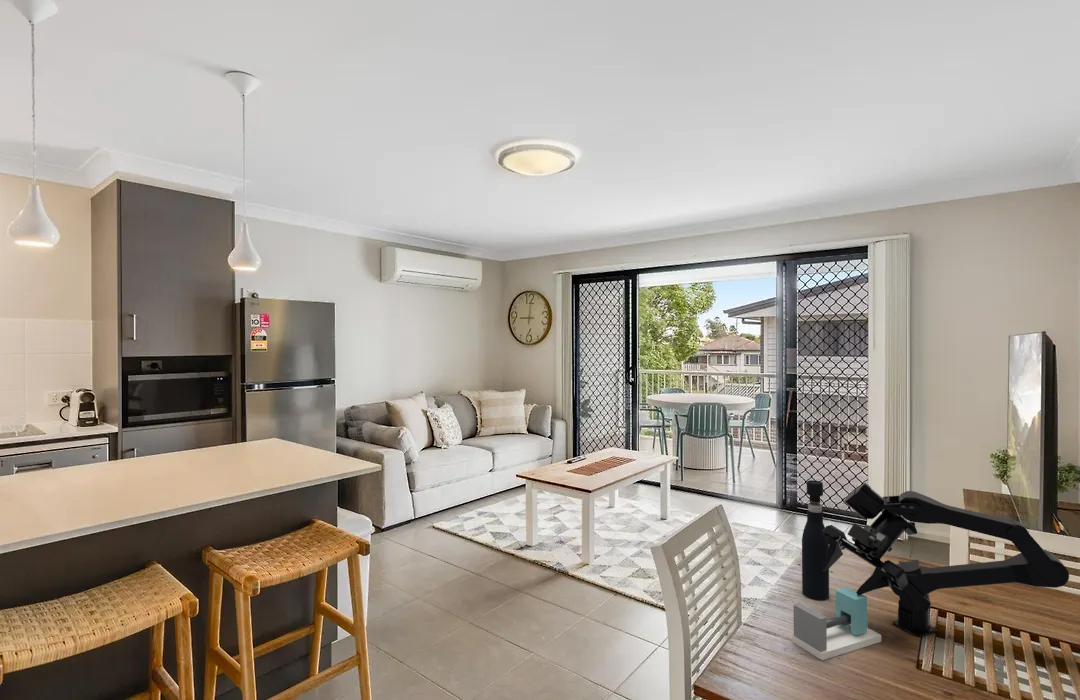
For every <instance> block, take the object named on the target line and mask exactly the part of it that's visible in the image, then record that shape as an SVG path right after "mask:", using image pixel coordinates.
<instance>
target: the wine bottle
mask: <svg viewBox="0 0 1080 700" xmlns="http://www.w3.org/2000/svg"><path fill="white" fill-rule="evenodd" d="M806 494H807V495H808V496H809V500H808V501H809V502H808V504H807V506H808V507H807V510H806V518H807V519H806V522H805V525H804V528H803V530H802V536H801V537H802V538H801V586H802V587H801V589H802V590H801V591H802V592H801V593H802V595H803V596H804V597H805V598H808V599H811V600H815V601H827V600H829V599H830V568H829V569H828V570H826V571H823V565H824V563H825V560H826V557H827V554H828V549H829V543H828V542H827V540H826V538H825V536H824V534H823V532H822V530H823V529H824V528H825V527H826V526H825V524H824V512H823V509H822V508H823V507H822V504H821V497H823V496H824V483H823V482H822V481H820V480H807V481H806Z"/></svg>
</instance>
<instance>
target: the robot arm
mask: <svg viewBox="0 0 1080 700" xmlns="http://www.w3.org/2000/svg"><path fill="white" fill-rule="evenodd" d="M843 502H844V503H845V504H846V505H847V506H849V508H851V509H852V510H853V511H854V512H855V513H856V514H857V515H859V516H860V517H861V518H863V520H865V519H868V520H873V519H874V521H873V522H872V523H871V524H870V525H869V524H867V525H865V526H864V527H862V526H860V525H859V524H857V523H856V522H854V523H853V524H852V526H851V527H850V529H849V530H848V532H847V535H848V536H849V537H851V540H852V541H853V542H854V543H853V542H851V541H850V540H849V539H847V536H846V534H845V532H844V531H843V530H841V529H839V528H838V527H836V526H834V525H832V524H830V525H829V524H828V525H826V526H825V528H824V529H823V530H822V532H823V534H824V536H825V538H826V540H827V542H828V543H829V549H828V554H827V557H826V560H825V563H824V565H823V571H826V570H828V569H829V570H830V568H832V567H833V566H834V564H835V563H836V562H837V561H838V560H839V559H841V558H842V556H843V555H844V554H843V550H845V549H846V550H848V551H849V552H851V553H852V554H854V555H856V556H857V557H859V558H860V559H862V560H864V561H865V562H867V563H868V564H870V565H871V566H872V567H874V568H875V569H874V571H873V573H872V574H871V575H870V577H868V578H867V579H866V580H865V582H863V584H861V585H860V586H859V587H858V589H857V591H855V592H856V593H857V595H861V594H862V595H864V594H866V593H870V592H872V591H875V590H878V589H879V590H880V589H884V588H888V587H889V588H890V589H891V591H892V592H893V593H894V594H895V596H896V595H897V596H898V597H899V600H898V607H897V619H895V620H892V621H891V623H892V625H894V626H897V627H899V628H900V629H902V630H905V632H909V633H910V634H912V635H914V636H917V637H923V636H926V635H930V634H932V633H935V632H938V629H937V627H934V626H932V625H931V604H932V602H931V598H930V593H933V592H935V591H937V590H941V589H942V590H943V589H952V588H953V589H954V588H955V589H956V588H967V587H977V586H989V585H1001V584H1012V583H1013V584H1014V583H1015V584H1022V585H1026V586H1030V587H1037V588H1038V587H1039V588H1051V589H1052V588H1053V589H1054V588H1055V589H1057V588H1061V587H1064V586H1065V585H1066V584H1067V583H1068V582H1069V580H1070V574H1069V570H1068V569H1067V567H1066V566H1065V564H1063V562H1062V561H1061V560H1060V558H1059V557H1057V555H1055V554H1054V553H1052V552H1050V551H1049V550H1046V549H1043V548H1042V546H1041V545H1040V544H1039V543H1038V542H1037V540H1035V538H1034V537H1033V536H1032V535H1031V534H1030V532H1029V531H1028V529H1027V528H1026V527H1025V526H1024V524H1023V523H1021V522H1020V521H1018V520H1015V519H1007V518H1001V517H998V516H993V515H989V514H986V513H981V512H976V511H973V510H968V509H964V508H960V507H958V506H957V507H956V506H951V505H948V504H946V503H942V502H940V501H938V500H936V499H934V498H932V497H930V496H927V495H924V494H923V493H919V492H918V491H917V492H916V491H915V490H914V491H913V490H905V491H904V492H902V493H900V494H899V495H889V496H887V495H886V496H881V495H880V494H879V493H877V492H876V491H875V490H874V489H873V488H872V487H871V486H870V485H869V484H868V483H867V482H863V484H861V485H859V486H858V487H856V488H854V489H852V490H851V492H849V493H848V495H846V497H845V498H844V500H843ZM877 516H878V517H877ZM876 517H877V518H876ZM875 518H876V519H875ZM916 523H917V524H918V523H919V524H928V525H929V524H930V525H932V524H934V525H935V524H939V525H940V524H942V525H946V526H947V525H948V526H952V527H955V528H960V529H962V530H967V531H971V532H975V533H978V534H983V535H986V536H991V537H995V538H999V539H1002V540H1006V541H1010V542H1011V543H1012V544H1013V545H1014V546H1015V547H1016V549H1017V550H1018V551H1019V552H1020V553H1018V554H1015V555H1013V556H1011V557H1009V558H1006V559H1004V560H995V561H986V562H985V561H984V562H976V563H975V562H974V563H967V564H957V565H956V564H955V565H954V564H953V565H945V566H936V567H935V566H934V567H929V566H923V565H920V561H919V559H913V560H911V561H902V560H898V563H897V564H896V563H894V562H893V561H891V560H889V559H887V560H885V561H882V560H881V559H882V558H883V556H884V555H885V554H886V553H887V552H889V553H890V552H892V550H893V548H892V546H893V545H894V544H895V543H896V542H897V540H898V539H899V538H900V537H901V536H902V535H903V534H904V532H905V534H907V535H908V536H914V535H917V534H918V529H917V528H916Z"/></svg>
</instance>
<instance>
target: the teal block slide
mask: <svg viewBox="0 0 1080 700" xmlns="http://www.w3.org/2000/svg"><path fill="white" fill-rule="evenodd" d="M848 622H851V615H849V614H846V615H842V616H839V617H836V616H835V617H832V618H829V619H827V616H825V615H822V614H821V613H819V612H817V611H815V610H813V609H812V608H811V607H807V606H806V605H804V604H802V603H801V602H798V603H795V604H793V633H792V634H791V642H792V643H794V644H795V645H797V646H799V647H800V648H801V649H803V650H805V651H807V652H808V653H810V654H811V655H813V656H814V657H816V658H817V659H820V660H821V661H825V660H828V659H831V658H835V657H838V656H840V655H844V654H848V653H850V652H853V651H857V650H859V649H862V648H866V647H870V646H871V645H875V644H878V643H882V634H880V633H878V632H876V631H875V630H873V629H870V628H868V627H867V632H865V633H862V634H859V635H854V634H853V633H851V624H849V625H846V626H843V627H840V626H838V625H841V624H845V623H848Z"/></svg>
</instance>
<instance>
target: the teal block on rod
mask: <svg viewBox="0 0 1080 700" xmlns="http://www.w3.org/2000/svg"><path fill="white" fill-rule="evenodd" d="M856 592H857V591H856V590H853V589H851V588H848V587H844V588H840V589H835V617H839V616H842V615H846V614H849V615H851V622H848V623H845V624H841V625H838V626H840V627H843V626H846V625H849V624H851V633H853V634H854V635H859V634H862V633H865V632H867V628H868V596H866V595H864V594H861V595H857V593H856Z"/></svg>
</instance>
